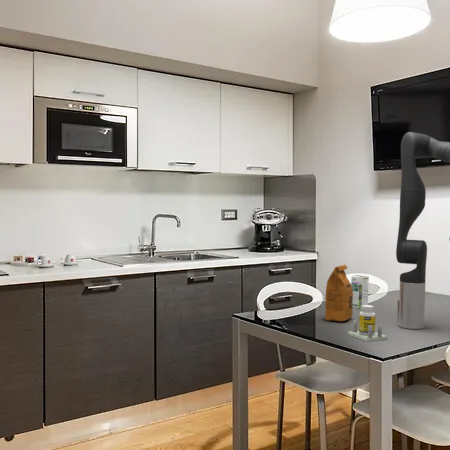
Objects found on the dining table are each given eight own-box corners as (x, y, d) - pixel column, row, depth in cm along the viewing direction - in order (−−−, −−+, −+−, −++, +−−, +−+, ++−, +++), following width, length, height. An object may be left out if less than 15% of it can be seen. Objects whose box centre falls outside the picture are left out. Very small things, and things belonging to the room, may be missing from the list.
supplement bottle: (362, 335, 176) (363, 307, 176) (356, 331, 181) (357, 304, 181) (377, 335, 177) (378, 307, 176) (370, 331, 182) (371, 304, 182)
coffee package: (356, 318, 208) (357, 265, 208) (345, 324, 198) (346, 267, 198) (333, 315, 214) (334, 263, 213) (321, 320, 204) (322, 265, 203)
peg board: (347, 334, 181) (348, 320, 181) (368, 332, 185) (368, 318, 185) (365, 341, 172) (365, 326, 172) (387, 339, 176) (387, 324, 175)
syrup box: (350, 307, 233) (350, 275, 233) (358, 305, 237) (359, 274, 236) (360, 309, 229) (360, 276, 228) (368, 307, 232) (369, 276, 232)
